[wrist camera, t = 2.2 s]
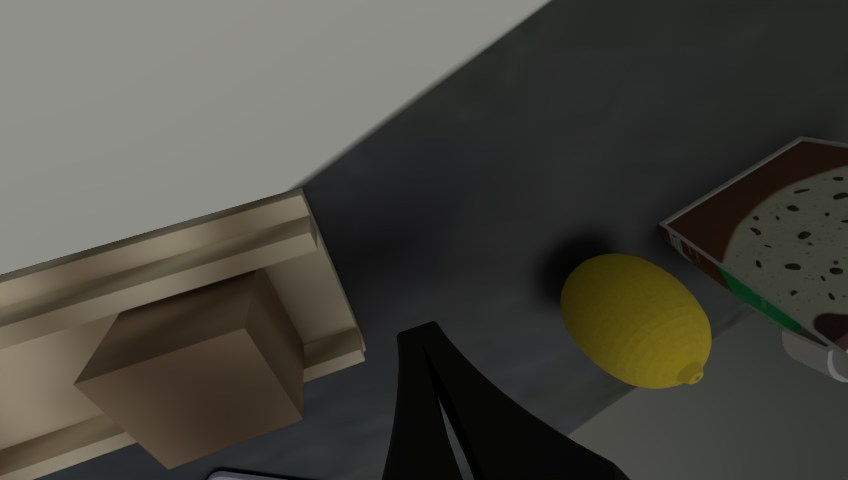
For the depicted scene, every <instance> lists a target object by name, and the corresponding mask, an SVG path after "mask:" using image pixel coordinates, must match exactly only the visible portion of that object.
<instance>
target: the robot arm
mask: <svg viewBox="0 0 848 480" xmlns="http://www.w3.org/2000/svg"><path fill="white" fill-rule="evenodd" d="M396 337H397V342H398V353H399V374H398V391H397V401H396V409H395V417H394V424H393V430H392V436H391V441H390V446H389V451H388V455H387V460H386V464H385V468H384V473H383V477H382V480H463V479H462V476H461V473H460V470H459V467H458V464H457V462H456V459H455V456H454V453H453V450H452V447H451V445H450V442H449V439H448V436H447V432H446V428H445V424H444V420H443V416H442V412H441V408H440V404H439V399H440V402H441V404H442V406H443V408H444V411H445V413H446V415H447V417H448V419H449V422H450V424H451V426H452V428H453V430H454V433H455V435H456V437H457V439H458V441H459V444H460V446H461V448H462V450H463V452H464V455H465V457H466V459H467V462H468V464H469V467H470V469H471V472H472V475H473V477H474V480H630V479H629V478H628V477H627V476H626V475H625V474H624V473H623V472H622V471H621V470H620V469H619V468H618V467H617V466H616V465H615V464H614V463H613V462H611V461H609V460H607V459H606V458H604V457H602V456H600V455H598V454H596V453H594V452H592V451H590V450H589V449H587V448H585V447H583V446H581V445H580V444H578V443H576V442H574V441H573V440H571V439H570V438H568V437H566V436H565V435H563V434H561V433H560V432H558V431H556V430H555V429H553V428H552V427H550V426H549V425H547V424H546V423H544V422H543V421H541V420H540V419H538V418H537V417H535V416H534V415H532V414H531V413H529V412H528V411H527V410H525V409H524V408H523V407H521V406H520V405H518V404H517V403H516V402H514V401H513V400H512V399H511V398H509V397H508V396H507V395H506V394H504V393H503V392H502V391H501V390H499V389H498V388H497V387H496V386H495V385H494V384H492V383H491V382H490V381H489V380H488V379H487V378H486V377H485V376H483V375H482V374H481V373H480V372H479V371H478V370H477V369H476V368H475V367H474V366H473V365H472V364H471V363H470V362H469V361H468V360H467V359H466V358H465V357H464V356H463V355H462V354H461V353H460V352H459V350H458V349H457V348H456V347H455V346H454V345H453V344H452V342H451V341H450V340H449V339H448V338H447V336H446V335H445V334H444V332H443V331H442V330H441V328H440V327H439V325H438V323H437V322H434V321H432V322H429V323H426V324H423V325H420V326H418V327H415V328H412V329H409V330H406V331H403V332H400V333H399V334H398V335H397V336H396ZM438 397H439V399H438ZM207 480H286V479H279V478H271V477H264V476H256V475H249V474H241V473H233V472H226V471H218V472H215V473H213V474H212V475H211V476H210V477H209V478H208V479H207ZM844 480H848V478H846V479H844Z"/></svg>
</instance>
